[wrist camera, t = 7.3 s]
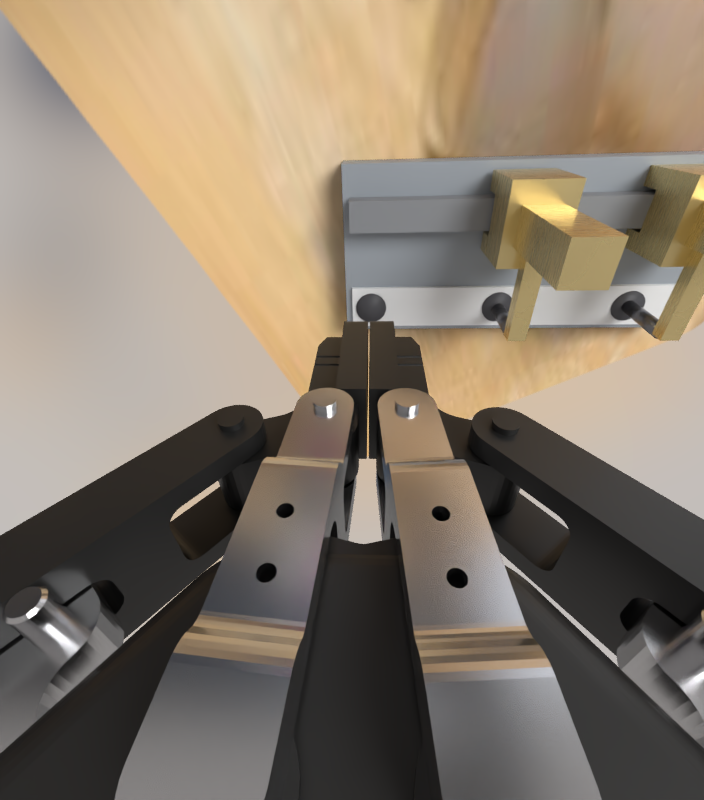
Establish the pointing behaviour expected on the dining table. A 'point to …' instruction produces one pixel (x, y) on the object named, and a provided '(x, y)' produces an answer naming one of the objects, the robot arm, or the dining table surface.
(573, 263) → the slider
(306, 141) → the dining table surface
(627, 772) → the robot arm
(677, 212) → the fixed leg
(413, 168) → the board
